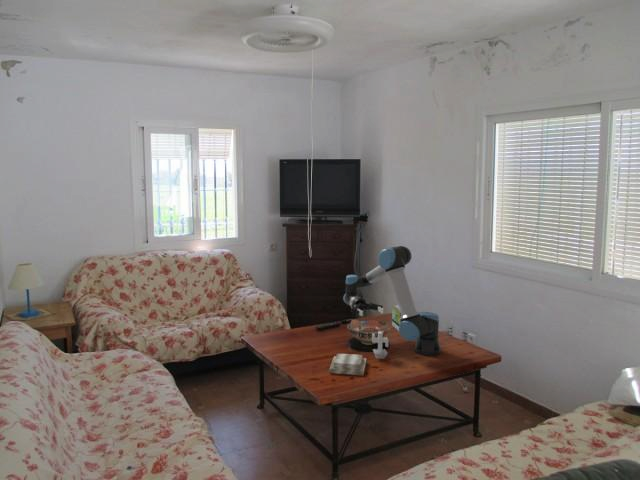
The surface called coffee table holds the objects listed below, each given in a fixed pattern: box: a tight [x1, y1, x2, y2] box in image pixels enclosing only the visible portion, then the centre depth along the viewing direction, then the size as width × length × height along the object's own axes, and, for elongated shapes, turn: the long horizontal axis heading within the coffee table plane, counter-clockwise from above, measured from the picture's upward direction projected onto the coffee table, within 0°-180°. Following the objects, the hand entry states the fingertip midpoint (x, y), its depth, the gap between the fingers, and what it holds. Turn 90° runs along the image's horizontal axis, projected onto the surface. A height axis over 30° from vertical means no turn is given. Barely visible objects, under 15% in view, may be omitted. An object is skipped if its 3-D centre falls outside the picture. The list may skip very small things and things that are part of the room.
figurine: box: [371, 330, 390, 360], centre depth 293 cm, size 7×9×15 cm
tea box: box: [391, 304, 401, 332], centre depth 344 cm, size 15×10×15 cm, turn 14°
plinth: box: [328, 353, 367, 376], centre depth 279 cm, size 18×18×5 cm
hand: (373, 312), depth 300 cm, fingers open, 13 cm apart
